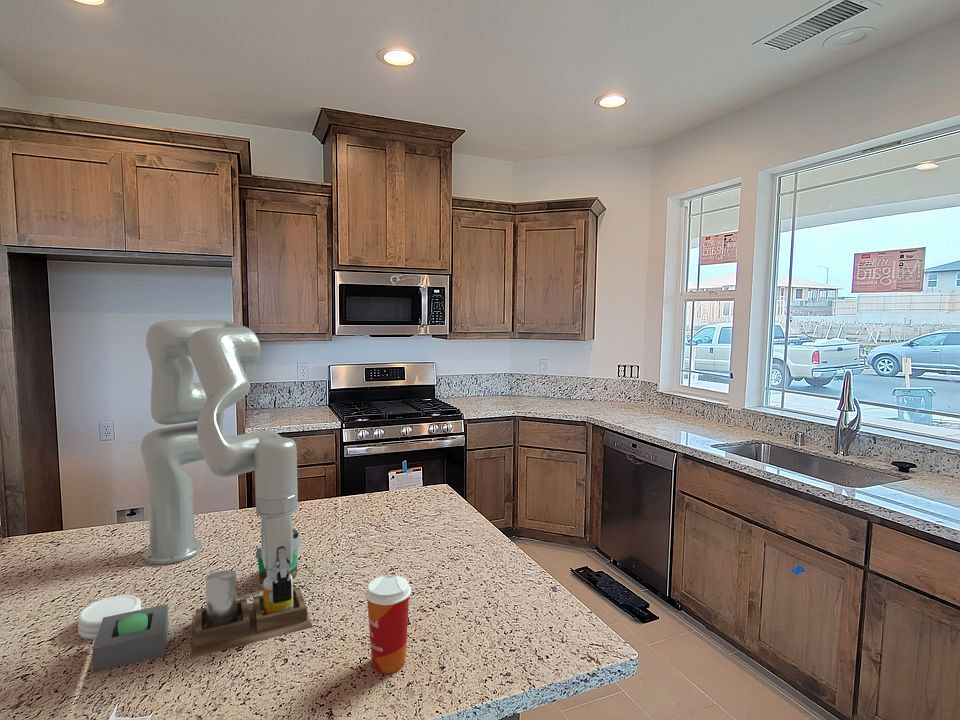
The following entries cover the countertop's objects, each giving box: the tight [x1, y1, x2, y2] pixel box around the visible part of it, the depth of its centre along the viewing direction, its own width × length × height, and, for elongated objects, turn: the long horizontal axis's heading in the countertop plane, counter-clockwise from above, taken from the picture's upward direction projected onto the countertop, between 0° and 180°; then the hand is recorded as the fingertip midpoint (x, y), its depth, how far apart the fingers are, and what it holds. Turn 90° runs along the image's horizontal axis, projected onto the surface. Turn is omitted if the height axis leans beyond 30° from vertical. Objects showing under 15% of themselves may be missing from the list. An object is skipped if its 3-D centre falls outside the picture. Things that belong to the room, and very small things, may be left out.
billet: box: [205, 569, 238, 629], centre depth 98 cm, size 5×5×10 cm
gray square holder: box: [92, 603, 170, 673], centre depth 92 cm, size 10×10×5 cm
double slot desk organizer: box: [190, 586, 313, 659], centre depth 100 cm, size 14×20×4 cm
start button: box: [117, 613, 148, 636], centre depth 92 cm, size 4×4×4 cm
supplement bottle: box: [262, 562, 294, 615], centre depth 102 cm, size 5×5×10 cm
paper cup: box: [364, 575, 412, 675], centre depth 90 cm, size 8×8×14 cm
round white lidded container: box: [76, 594, 142, 640], centre depth 101 cm, size 10×10×4 cm
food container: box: [255, 527, 302, 588], centre depth 117 cm, size 12×6×10 cm, turn 168°
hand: (279, 588), depth 102 cm, fingers open, 9 cm apart
